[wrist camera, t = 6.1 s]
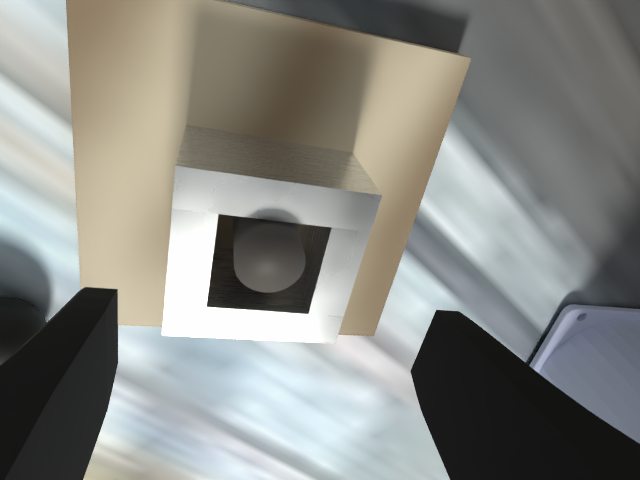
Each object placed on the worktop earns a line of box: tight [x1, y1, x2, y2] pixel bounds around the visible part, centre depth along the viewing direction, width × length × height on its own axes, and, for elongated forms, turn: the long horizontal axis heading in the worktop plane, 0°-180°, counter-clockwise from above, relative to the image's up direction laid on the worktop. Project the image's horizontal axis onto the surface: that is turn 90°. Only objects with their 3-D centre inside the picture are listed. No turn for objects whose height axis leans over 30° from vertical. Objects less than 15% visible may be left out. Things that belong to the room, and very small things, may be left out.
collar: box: [162, 125, 382, 344], centre depth 15 cm, size 6×6×4 cm
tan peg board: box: [66, 0, 471, 336], centre depth 15 cm, size 12×12×5 cm
